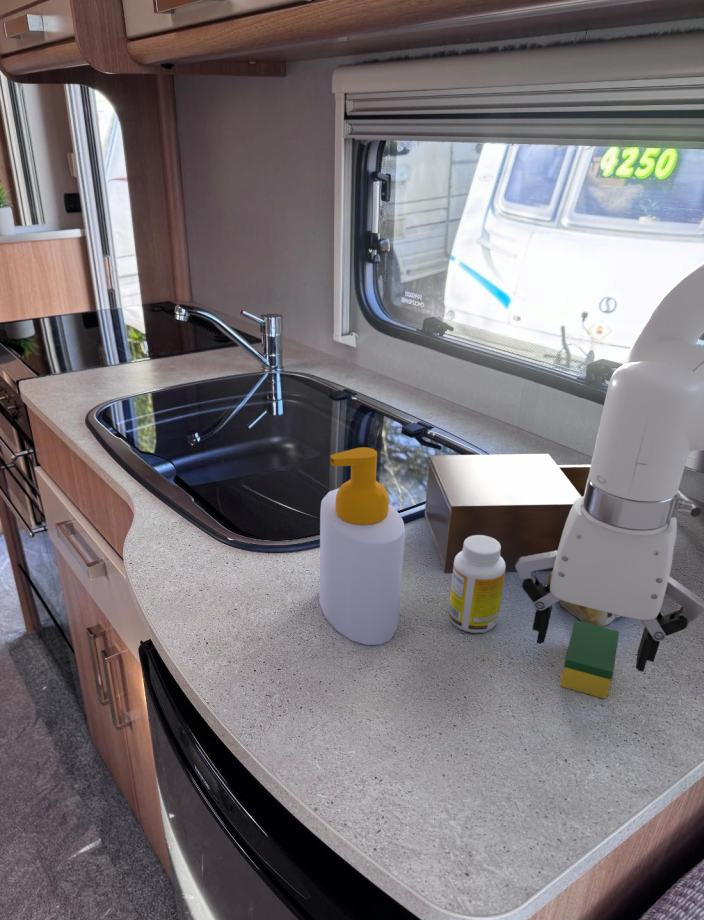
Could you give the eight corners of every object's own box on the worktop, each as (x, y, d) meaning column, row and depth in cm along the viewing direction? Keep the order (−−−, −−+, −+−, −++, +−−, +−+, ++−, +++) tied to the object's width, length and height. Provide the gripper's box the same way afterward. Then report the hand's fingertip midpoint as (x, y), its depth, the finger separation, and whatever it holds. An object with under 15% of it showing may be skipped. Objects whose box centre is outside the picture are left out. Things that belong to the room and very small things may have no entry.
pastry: (531, 593, 87) (537, 567, 86) (568, 576, 91) (573, 550, 89) (597, 634, 81) (604, 606, 79) (633, 613, 84) (641, 586, 82)
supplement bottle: (504, 616, 83) (517, 541, 78) (484, 641, 79) (496, 563, 74) (460, 599, 86) (469, 525, 81) (439, 623, 82) (447, 547, 77)
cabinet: (537, 514, 105) (548, 453, 100) (573, 570, 92) (587, 504, 87) (424, 516, 104) (429, 455, 99) (444, 572, 91) (451, 506, 87)
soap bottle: (305, 587, 88) (305, 433, 78) (367, 575, 91) (374, 424, 81) (345, 655, 77) (351, 486, 67) (414, 638, 80) (430, 473, 70)
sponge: (569, 645, 79) (574, 619, 77) (612, 657, 77) (619, 631, 76) (559, 686, 73) (565, 659, 72) (606, 699, 72) (613, 672, 70)
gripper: (731, 503, 65) (682, 651, 74) (537, 467, 72) (512, 607, 80) (735, 542, 59) (681, 698, 68) (523, 498, 66) (497, 646, 74)
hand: (589, 649), depth 74 cm, fingers open, 9 cm apart
